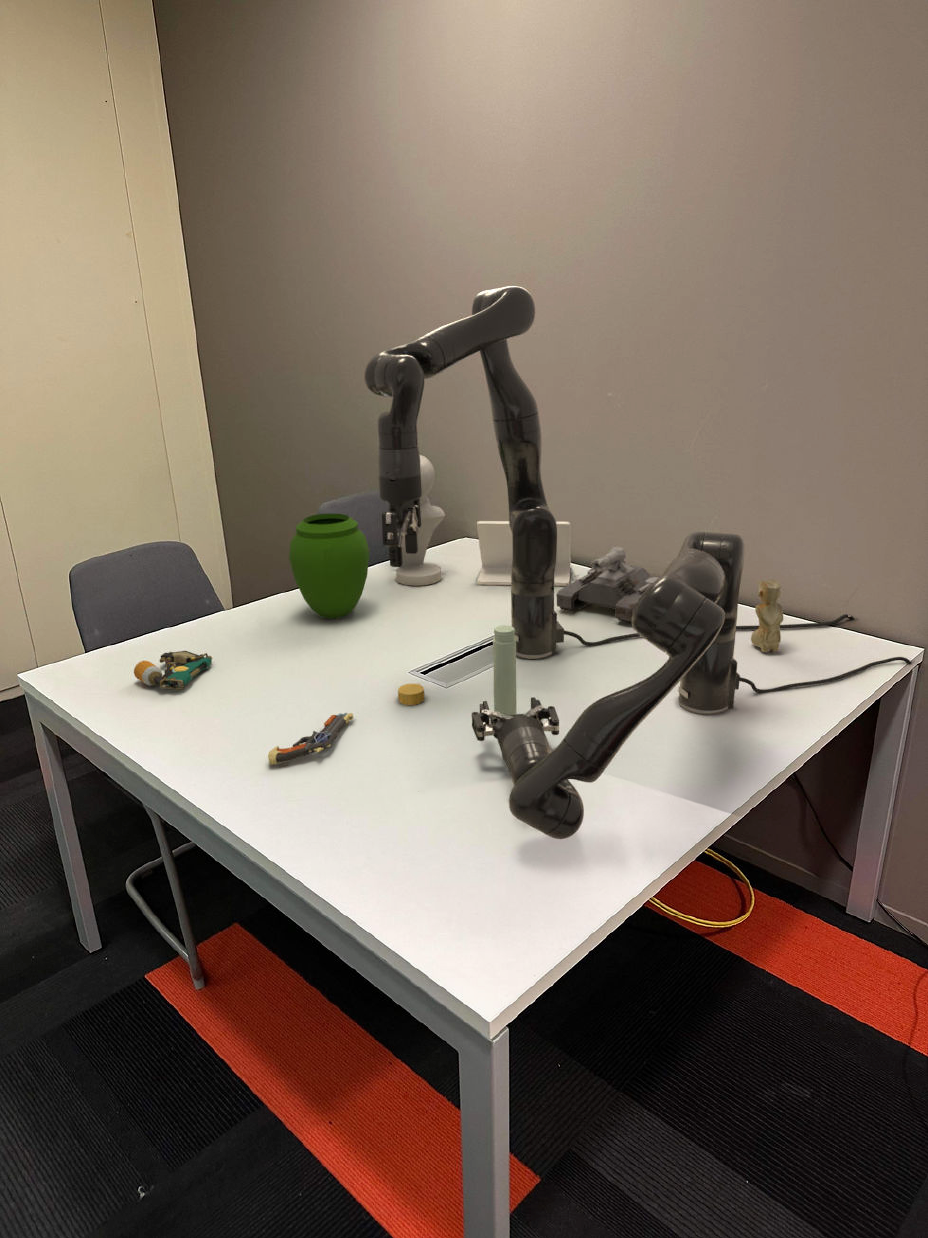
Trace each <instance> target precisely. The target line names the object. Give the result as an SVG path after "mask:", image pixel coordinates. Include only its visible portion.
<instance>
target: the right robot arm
mask: <svg viewBox="0 0 928 1238" xmlns="http://www.w3.org/2000/svg"><path fill="white" fill-rule="evenodd" d="M745 549H746V547H745V542H744V539H743V537H742V536H741V535H740V534H733V533H722V532H721V533H720V532H709V531H708V532H706V531H696V532H695V531H694V532H692V533H689V534H688V535H687V536H686V537H685V539H684V540H683V542H682V544H681V547H680V549H679V552H678V553H677V556H676V557H675V558H674V559H673V560H672V561H671V562H670V563H669V565H668V566H667V567H666V568H665V570H664V572H663V573H662V574H661V575H660V576H661V577H660V578H658V579H657V580H656V581H655V582H653V583H652V584H651V585H650V586H649V587H648V588H647V589H646V590H645V591H644V593H643V594H642V595H641V597H640V598H639V600H638V601H637V603H636V605H635V607H634V610H633V613H632V618H631V626H632V628H633V630H634V631H635V633H638V634H639V635H640V637H641V638H643V639H644V640H646V641H647V642H649V644H651V645H653V646H654V647H655V648H657V649H658V650H660V651H662V652H663V653H665V655H667V656H668V659H667V660H666V662H665V663H664V664H663V665H662V666H661V667H660V668H659V669H658V670H656V671H655V672H654V673H652V674H651V675H649V676H647V677H646V678H645V679H642V680H641V681H638V682H637V683H634V684H632V685H630V686H628V687H625V688H622V689H620V690H617V691H614V692H612V693H610V694H608V695H606V696H605V695H604V696H603V697H601V698H599V699H597V700H596V701H594V702H592V703H591V704H590V705H589V706H588V707H586V708H585V709H584V710H583V711H582V712H581V714H580V715H579V716H578V718H576V720H575V722H574V723H573V725H572V726H571V727H570V729H569V731H567V733H566V735H565V736H564V738H563V739H562V740H561V741H560V742H559V744H558V745H557V746H555V748H554V749H553V750H552V747H551V744H550V742H549V740H548V738H547V735H546V733H545V732H550V733H551V735H553V736H558V735H559V734H560V719H559V716H558V713H557V710H556V707H555V706H554V705H549V706H547V707H545V706H544V705H543V704H542V703H541V700H540V699H537V698H536V697H530V709H529V710H528V711H527V712H525V713H518V714H517V715H505V714H502V713H500V712H498V711H495V712H494V711H492V710H490V707H489V703H488V701H487V700H483V701H482V703H480V704H479V708H478V709H479V712H478V711H472V712H471V727H472V731H473V732H474V735H475V737H476V740H477V741H478V742H483V741H485V737H489V736H490V737H491V736H493V738H495V739H496V740H497V743H498V745H499V749H500V752H501V758H502V760H503V762H504V764H505V766H506V768H507V770H508V772H509V776H510V778H511V781H512V783H513V786H512V788H511V790H510V793H509V797H508V809H509V811H510V813H511V815H512V816H513V817H515V818H516V819H517V820H519V821H521V822H522V823H523V824H525V825H528V826H530V827H531V828H533V829H535V830H537V831H538V832H541V833H542V834H544V835H546V836H549V837H550V838H553V839H554V840H555V839H556V840H564V839H568V838H571V837H572V836H574V835H575V834H576V833H577V832H578V831H579V829H580V828H581V826H582V824H583V821H584V817H585V806H584V803H583V799H582V796H581V795H580V793H579V791H578V790H577V789H576V787H575V786H574V785H573V784H572V782H571V781H570V780H574V781H578V782H582V783H587V784H590V783H595V782H596V781H597V780H598V779H599V778H600V777H601V776H602V774H603V773H604V772H605V770H606V769H607V768H608V767H609V765H610V764H611V762H612V761H613V759H614V758H615V756H617V754H618V753H619V751H620V750H621V749H622V747H623V745H625V743H626V742H627V740H628V739H629V738H630V736H632V734H633V733H634V731H636V729H637V728H638V727H639V726H640V725H641V723H643V721H644V720H645V719H647V717H648V716H649V715H650V714H651V713H652V712H653V711H654V710H655V709H656V708H657V707H658V706H659V705H660V704H661V703H662V701H664V699H666V697H667V696H668V695H669V694H670V693H671V692H672V691H673V689H674V688H676V686H677V685H678V684H679V686H678V691H677V692H678V700H677V701H678V704H679V705H680V707H681V708H683V709H685V710H687V711H688V712H692V713H695V714H701V715H717V714H722V713H724V712H726V711H728V710H731V709H732V710H733V709H734V706H735V694H736V691H737V690H739V689H740V682H741V683H745V684H747V685H748V686H750V687H751V689H752V690H753V691H754V692H755V693H758V694H767V693H774V692H780V691H783V690H787V689H791V688H798V687H799V688H800V687H807V686H814V685H821V684H826V683H831V682H835V681H838V680H842V679H844V678H847V677H849V676H852V675H855V674H857V673H860V672H862V671H866V670H867V669H870V668H872V667H875V666H879V665H885V664H888V663H892V662H895V661H902V662H905V663H906V664H908V665H911V664H912V662H911V660H909V658H907V657H905V656H894V657H890V658H886V659H882V660H881V659H880V660H877V661H873V662H870V663H868V664H865V665H863V666H860V667H858V668H855V669H853V670H849V671H847V672H844V673H842V674H839V675H836V676H832V677H829V678H824V679H823V678H822V679H818V680H809V681H802V682H795V683H789V684H785V685H781V686H777V687H774V688H768V689H767V688H766V689H761V688H757V687H756V685H755V683H754V682H753V680H750V679H747V678H745V677H741V675H740V674H739V672H737V670H738V661H737V660H736V659H735V658H734V657H735V656H734V655H735V646H736V645H735V644H736V633H737V630H736V626H737V623H738V622H737V621H738V612H739V611H738V609H739V598H740V597H739V596H740V588H741V581H742V574H743V569H744V561H745V551H746V550H745ZM498 719H500V720H499V721H498ZM544 720H546V721H545V723H544V722H543V721H544Z"/></svg>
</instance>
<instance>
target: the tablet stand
mask: <svg viewBox="0 0 928 1238" xmlns="http://www.w3.org/2000/svg"><path fill="white" fill-rule="evenodd" d="M556 524H557V557H556V567H555V571H554V587H556V586H557V587H566V586H567V585H569V584H570V580H571V579H570V578H571V565H572V564H571V560H572V558H571V522H569V521H556ZM476 531H477V537H478V544H479V551H480V557H481V558H480V559H481V570H480V573H479V575H478V577H477V580H476V581H477V582H476V584H478V585H484V586H485V585H486V586H487V585H489V586H490V585H491V586H511V565H512V560H513V537H512V532H511V529H510V526H509V520H505V521H504V520H477V522H476Z"/></svg>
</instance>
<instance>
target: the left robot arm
mask: <svg viewBox="0 0 928 1238" xmlns="http://www.w3.org/2000/svg"><path fill="white" fill-rule="evenodd" d="M471 307H472V308H471V315H470V316H468V317H464V318H462V319H459V320H456V321H453V322H450V323H447V324H444V325H442V326H439V327H437V328H435V329H433V330H431V331H429V332H428V333H426V334H424V335H422V336H420V337H418V338H417V339H415V340H413V341H411V342H409V343H408V342H407V343H405V344H402V345H399V346H396V347H392V348H390V349H386V350H384V351H381V352H379V353H378V354H376V355H374V356H373V357H372V358H371V359H370V360H369V361H368V363H367V364H366V366H365V369H364V373H363V380H364V383H365V386H366V388H367V389H368V390H369V391H370V392H371V393H372V394H374V395H376V396H378V397H382V398H383V397H384V398H392V400H391V405H390V410H388V411H385V412H381V413H380V414H379V415H378V416H377V419H376V434H377V435H376V436H377V474H378V476H377V477H378V482H379V485H378V488H379V489H378V491H379V498H380V500H382V501H384V502H387V504H388V511H382V512H381V531H382V546H384V547H388V552H389V553H388V555H389V566H390V567H392V568H399V567H401V566H402V565H403V558H402V540H403V536H405V549H406V553H409V554H416V553H417V552H418V544H417V534H416V533H418V531H419V529H418V527H419V528H420V527H421V525H422V524H421V511H420V497H421V495H422V490H421V468H420V455H421V454H420V450H419V441H418V440H419V439H418V419H419V418H418V417H419V415H420V411H421V410H420V409H421V406H422V399H423V395H424V391H425V380H427V379H431V378H434V377H436V376H438V375H440V374H442V373H444V372H445V371H447V370H449V369H451V368H452V367H454V366H455V365H457V364H458V363H460V362H462V361H464V360H466V359H467V358H469V357H470V356H472V355H474V354H476V353H478V352H479V354H480V355H479V356H480V358H481V362H482V365H483V371H484V375H485V380H486V385H487V391H488V397H489V402H490V409H491V415H492V417H491V418H492V424H493V429H494V430H493V431H494V435H495V436H494V437H495V440H496V445H497V450H498V454H499V459H500V462H501V466H502V468H503V472H504V477H505V480H506V487H507V488H506V489H507V499H508V500H507V501H508V502H507V503H508V521H509V526H510V529H511V532H512V537H513V560H512V565H511V585H510V588H511V589H510V597H511V599H510V603H511V604H510V606H511V607H510V609H511V610H510V615H511V617H510V618H511V621H510V622H511V626H512V627H514V629H515V632H514V637H515V638H516V658H517V657H518V658H521V659H525V660H526V659H527V660H540V659H545V658H548V657H550V656H552V655H557V654H558V653H557V650H558V649H557V648H558V647H557V645H558V644H562V643H565V636H569V637H573V638H574V639H576V640H578V641H579V642H580V643H581V644H582V645H584V646H587V647H596V646H601V645H605V644H607V643H611V642H615V641H622V640H626V639H627V640H628V639H633V638H638V637H641V636H640V635H639V634H638V633H637V632H635V633H629V634H623V635H622V634H621V635H617V636H612V637H608V638H605V639H601V640H598V641H586V640H585V639H584V638H583V637H582V636H581V635H580V634H578V633H576V632H573V631H569V630H565V628H564V627H563V626H562V624H561V623H560V622H559V621H558V613H557V612H556V611H555V586H554V571H555V567H556V557H557V524H556V522H557V520H556V517H555V516H554V514H553V513H552V512H551V509H550V507H549V505H548V501H547V498H546V493H545V490H544V489H545V488H544V486H543V485H544V484H543V480H542V473H541V469H542V468H541V466H542V465H541V463H542V428H541V422H540V421H541V420H540V415H539V409H538V404H537V401H536V399H535V396H534V395H533V393H532V391H531V390H530V389H529V387H528V386H527V384H526V382H525V381H524V380H523V378H522V377H521V376H520V374H519V372H518V371H517V370H516V368H515V365H514V363H513V361H512V357H511V353H510V348H509V345H508V344H509V343H508V339H512V338H517V337H520V336H522V335H524V334H526V333H527V332H528V331H529V330H530V329H531V327H532V326H533V325H534V322H535V318H536V305H535V302H534V299H533V297H532V295H531V293H530V292H529V291H528V290H527V289H525V288H524V287H521V286H516V285H515V286H514V285H509V286H502V287H498V288H493V289H488V290H483V291H481V292H479V293H477V294H476V295H475V297H474V299H473V302H472V306H471ZM847 614H848V613H844V614H842V615H840V616H839V617H837V618H836V619H833V620H830V621H824V622H823V621H822V622H810V623H809V622H808V623H792V624H780V630H782V629H783V630H784V629H800V628H801V629H803V628H817V627H818V628H820V627H828V626H833V625H836V624H838V623H840V622H841V621H843V620H845V619H849V620H850V621H855V618H854V616H853V615H851V617H848V615H847ZM758 628H759V624H757V625H736V631H739V630H757V629H758Z"/></svg>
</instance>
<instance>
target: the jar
mask: <svg viewBox="0 0 928 1238" xmlns="http://www.w3.org/2000/svg"><path fill="white" fill-rule="evenodd" d="M514 632H515V629H514V627H512V625H507V624H502V625H501V624H500V625H498V626H495V627H494V628H493V634H494V637H493V639H492V661H493V664H492V665H493V667H492V668H493V712H495V711H498V712H500V713H502V714H505V715H517V713H518V712H517V711H518V710H517V656H516V638H515V637H514ZM499 720H500V719H498V721H499Z"/></svg>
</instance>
